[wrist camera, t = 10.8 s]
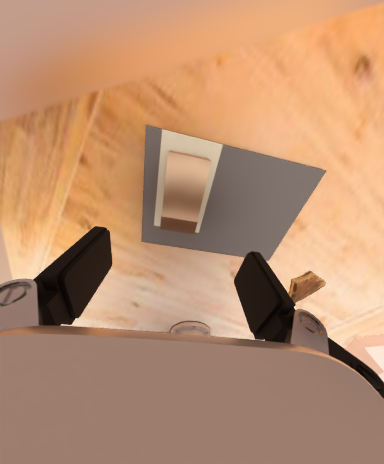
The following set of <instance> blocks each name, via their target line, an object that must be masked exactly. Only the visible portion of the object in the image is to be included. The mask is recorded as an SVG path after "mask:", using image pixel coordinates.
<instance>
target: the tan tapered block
mask: <svg viewBox="0 0 384 464" xmlns="http://www.w3.org/2000/svg"><path fill="white" fill-rule="evenodd" d="M211 163H212V161H211V160H210V159H208V158H205V157H201V156H196V155H192V154H187V153H183V152H178V151H174V150H170V151H168V157H167V167H166V177H165V187H164V197H163V207H162V216H161V223H160V229H162V230H169V231H175V232H182V233H188V234H195V230H196V226H197V220H198V216H199V212H200V208H201V204H202V200H203V196H204V192H205V188H206V183H207V179H208V175H209V171H210V167H211Z"/></svg>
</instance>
